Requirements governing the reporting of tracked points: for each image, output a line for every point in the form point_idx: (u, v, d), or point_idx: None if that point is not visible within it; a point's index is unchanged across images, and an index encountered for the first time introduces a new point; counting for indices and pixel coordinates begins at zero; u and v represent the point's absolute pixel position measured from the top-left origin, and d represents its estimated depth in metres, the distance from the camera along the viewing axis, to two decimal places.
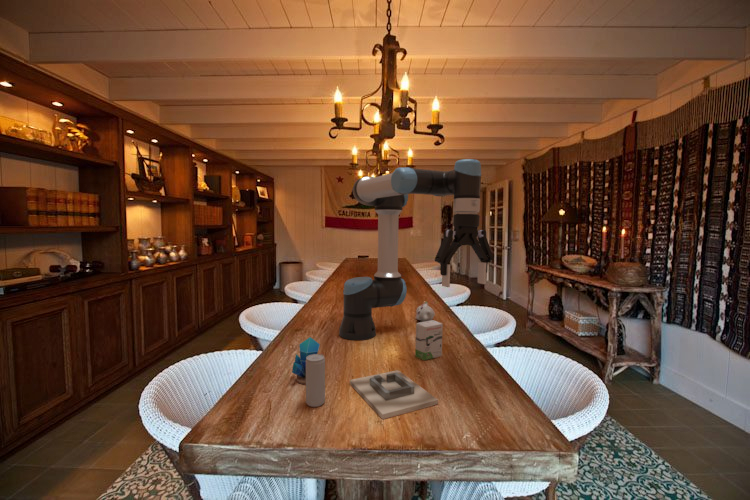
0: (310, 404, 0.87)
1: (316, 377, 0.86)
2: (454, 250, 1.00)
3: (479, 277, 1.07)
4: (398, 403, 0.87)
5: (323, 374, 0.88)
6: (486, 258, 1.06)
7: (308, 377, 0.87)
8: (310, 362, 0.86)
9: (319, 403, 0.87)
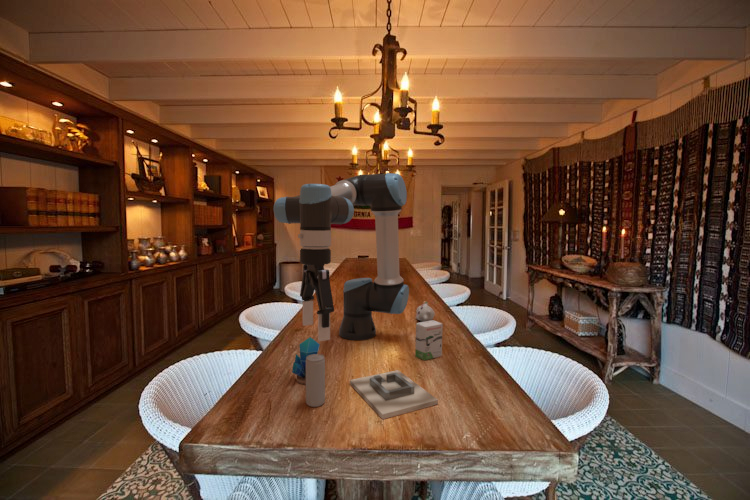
0: (310, 404, 0.87)
1: (316, 377, 0.86)
2: (305, 287, 0.91)
3: None
4: (398, 403, 0.87)
5: (323, 374, 0.88)
6: (319, 308, 0.80)
7: (308, 377, 0.87)
8: (310, 362, 0.86)
9: (319, 403, 0.87)
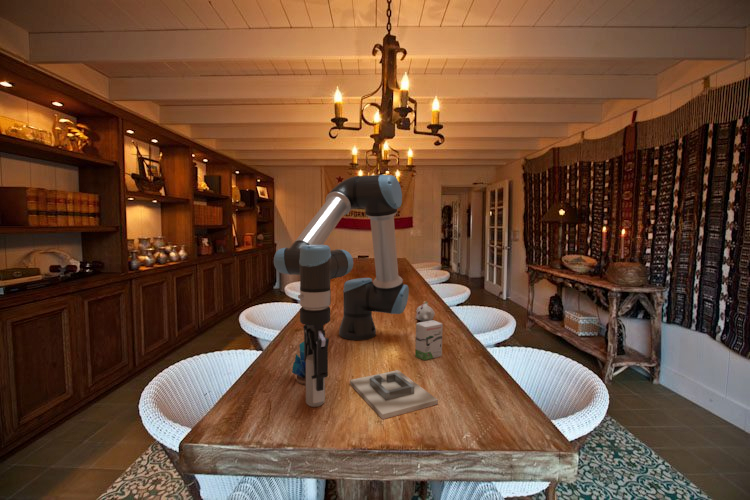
0: (310, 404, 0.87)
1: None
2: (307, 350, 0.90)
3: None
4: (398, 403, 0.87)
5: None
6: (314, 372, 0.85)
7: (308, 377, 0.87)
8: (310, 362, 0.86)
9: (319, 403, 0.87)
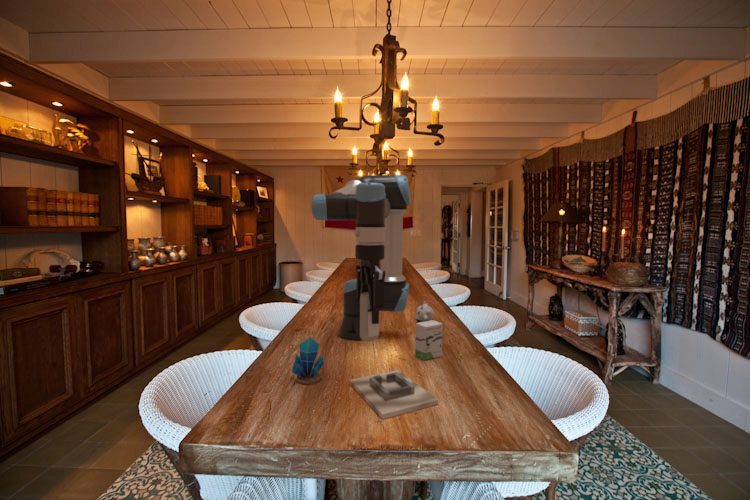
0: (365, 338, 0.89)
1: None
2: (361, 287, 0.93)
3: None
4: (398, 403, 0.87)
5: None
6: (370, 306, 0.87)
7: (362, 312, 0.89)
8: (365, 297, 0.89)
9: (373, 337, 0.90)
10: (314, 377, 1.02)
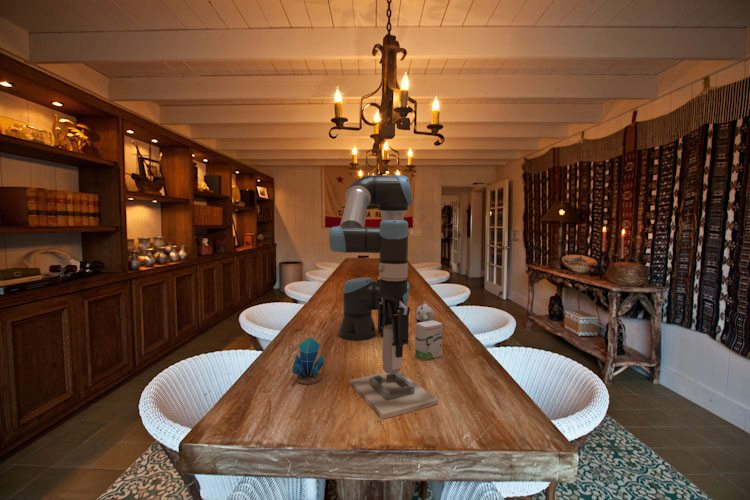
0: (388, 371, 0.92)
1: None
2: (383, 320, 0.95)
3: None
4: (398, 403, 0.87)
5: None
6: (395, 340, 0.89)
7: (386, 345, 0.91)
8: (389, 331, 0.91)
9: (397, 370, 0.92)
10: (314, 377, 1.02)
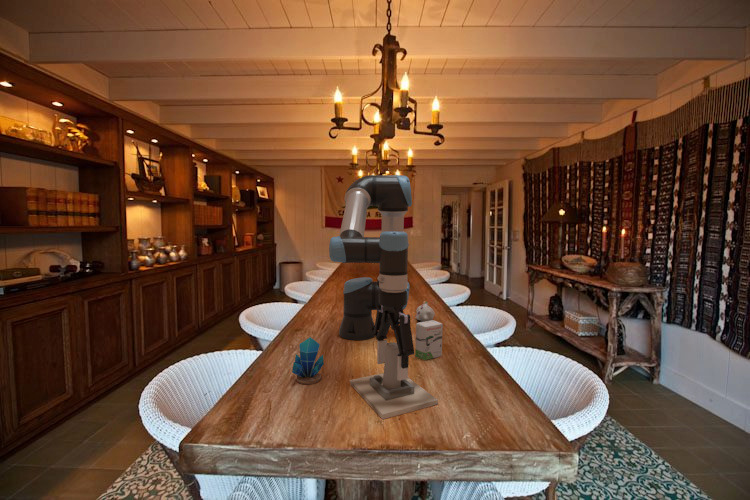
0: (388, 389, 0.92)
1: (396, 363, 0.92)
2: (380, 327, 0.96)
3: None
4: (398, 403, 0.87)
5: None
6: (400, 350, 0.87)
7: (388, 363, 0.92)
8: (391, 349, 0.92)
9: (396, 388, 0.92)
10: (314, 377, 1.02)
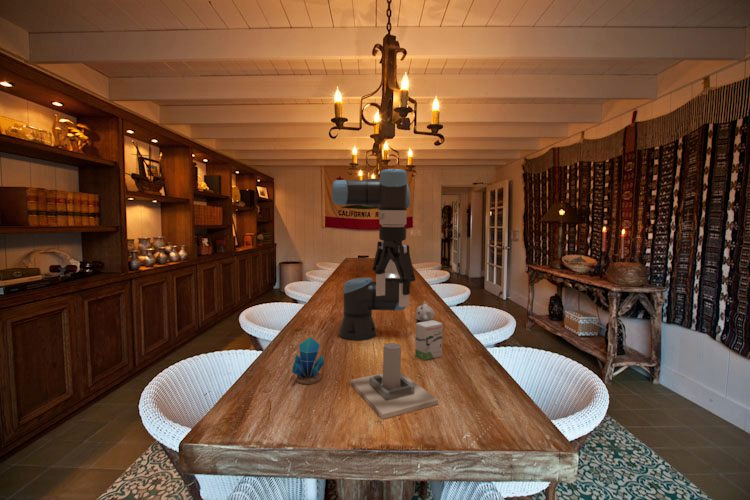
0: None
1: (394, 364, 0.92)
2: (380, 261, 1.02)
3: None
4: (398, 403, 0.87)
5: (400, 361, 0.93)
6: (401, 278, 0.92)
7: (386, 364, 0.92)
8: (389, 350, 0.92)
9: None
10: (314, 377, 1.02)
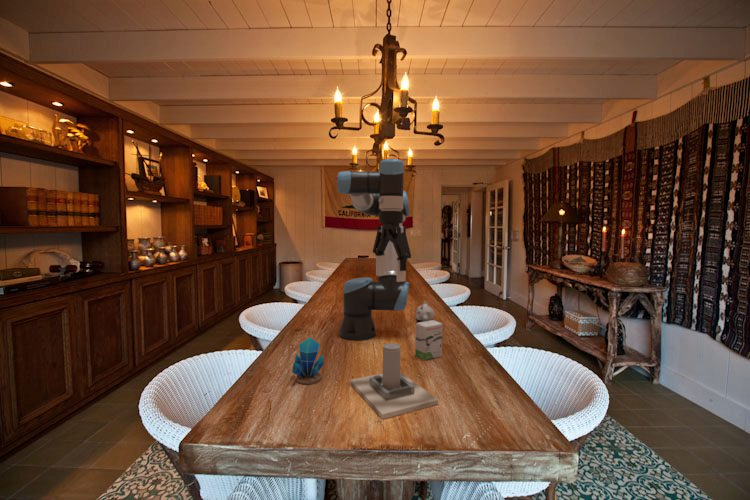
0: None
1: (394, 364, 0.91)
2: (379, 244, 1.13)
3: None
4: (398, 403, 0.87)
5: (399, 362, 0.93)
6: (398, 255, 1.02)
7: (386, 364, 0.92)
8: (388, 350, 0.91)
9: None
10: (314, 377, 1.02)
